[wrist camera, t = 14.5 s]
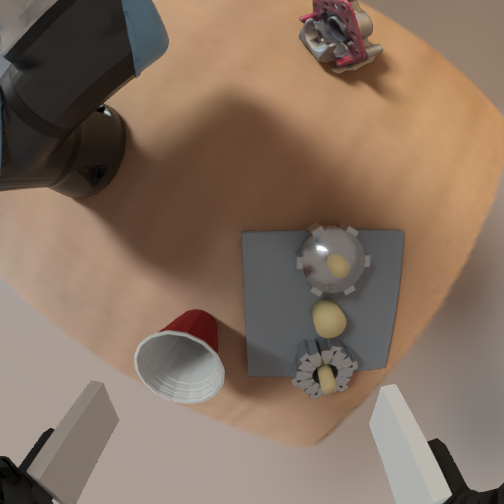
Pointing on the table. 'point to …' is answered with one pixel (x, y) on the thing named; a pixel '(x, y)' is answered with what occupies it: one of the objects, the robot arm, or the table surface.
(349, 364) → the planet gear
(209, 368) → the plastic cup
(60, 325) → the table surface
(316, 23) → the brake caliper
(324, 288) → the seated gear
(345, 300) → the plate
